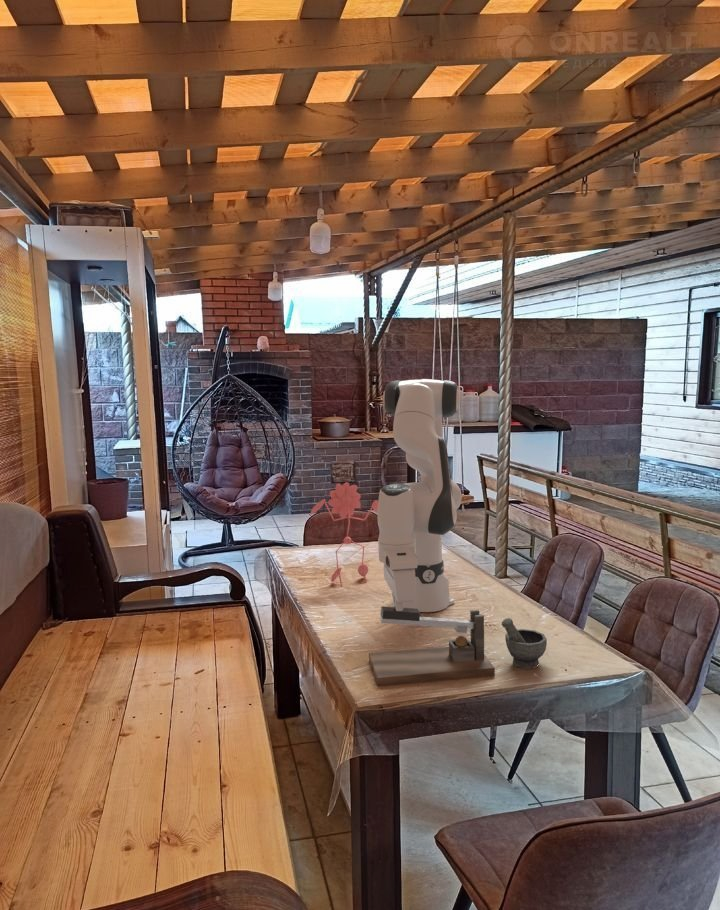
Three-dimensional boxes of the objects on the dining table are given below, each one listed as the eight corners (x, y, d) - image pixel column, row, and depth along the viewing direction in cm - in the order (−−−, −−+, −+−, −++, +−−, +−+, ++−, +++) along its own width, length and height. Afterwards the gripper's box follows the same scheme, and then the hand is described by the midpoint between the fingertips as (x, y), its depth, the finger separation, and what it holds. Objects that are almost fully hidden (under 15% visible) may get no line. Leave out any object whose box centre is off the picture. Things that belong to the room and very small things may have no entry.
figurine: (389, 579, 231) (385, 481, 227) (319, 590, 221) (315, 488, 218) (372, 569, 245) (368, 477, 242) (306, 579, 235) (301, 483, 232)
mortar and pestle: (534, 653, 166) (534, 607, 165) (553, 668, 157) (554, 620, 156) (493, 659, 164) (493, 613, 162) (511, 675, 155) (511, 626, 153)
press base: (369, 660, 165) (367, 610, 163) (476, 651, 168) (476, 603, 167) (377, 686, 151) (376, 632, 149) (494, 675, 154) (494, 622, 153)
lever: (379, 623, 158) (381, 606, 158) (474, 629, 162) (476, 613, 161) (381, 628, 155) (383, 610, 155) (478, 634, 159) (480, 617, 158)
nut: (453, 645, 161) (453, 634, 161) (465, 644, 162) (465, 633, 161) (457, 650, 158) (457, 638, 158) (469, 649, 159) (469, 637, 158)
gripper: (377, 543, 165) (378, 596, 167) (391, 564, 145) (392, 625, 146) (401, 541, 166) (402, 594, 167) (419, 563, 146) (420, 622, 147)
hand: (398, 609), depth 157 cm, fingers closed, pressing on lever
